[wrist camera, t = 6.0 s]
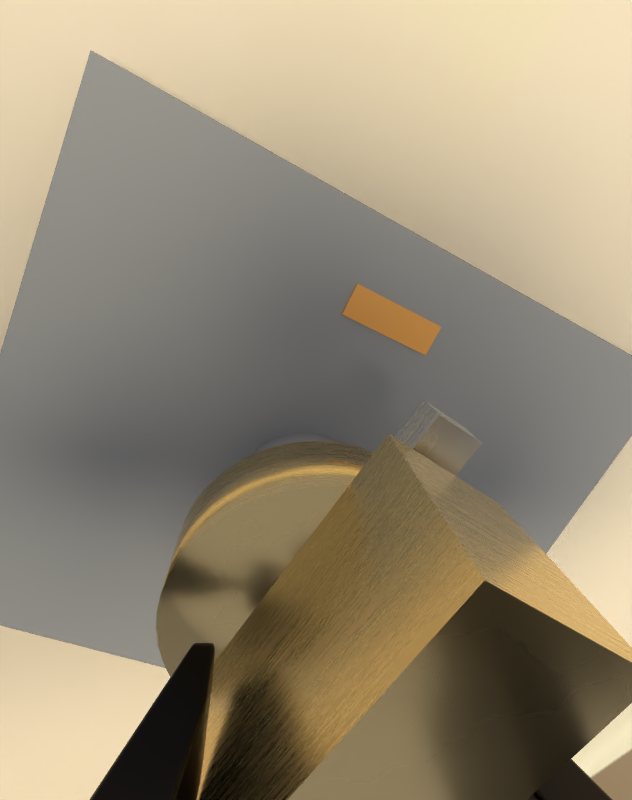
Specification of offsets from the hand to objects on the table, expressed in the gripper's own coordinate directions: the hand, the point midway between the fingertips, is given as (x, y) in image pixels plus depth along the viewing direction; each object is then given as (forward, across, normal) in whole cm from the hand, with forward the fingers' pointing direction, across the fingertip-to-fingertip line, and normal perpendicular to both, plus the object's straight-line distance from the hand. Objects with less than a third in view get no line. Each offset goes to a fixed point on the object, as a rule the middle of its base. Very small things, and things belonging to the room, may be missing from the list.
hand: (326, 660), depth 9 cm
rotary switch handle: (+3, 0, 0) cm, 3 cm away
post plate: (+8, 0, 0) cm, 8 cm away
